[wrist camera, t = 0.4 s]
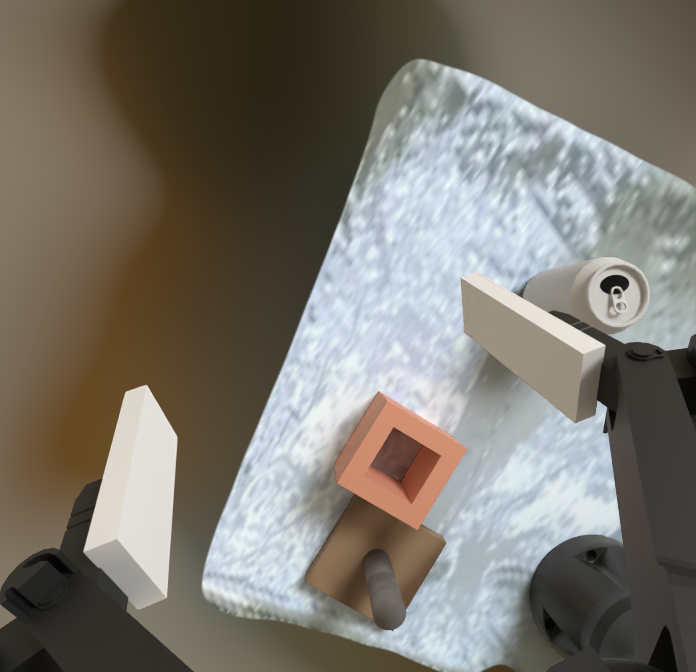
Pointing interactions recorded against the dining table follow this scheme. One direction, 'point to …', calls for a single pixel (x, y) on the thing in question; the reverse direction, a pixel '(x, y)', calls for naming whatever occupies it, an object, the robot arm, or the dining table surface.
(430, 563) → the post stand
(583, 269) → the can
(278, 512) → the dining table surface
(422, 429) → the collar
